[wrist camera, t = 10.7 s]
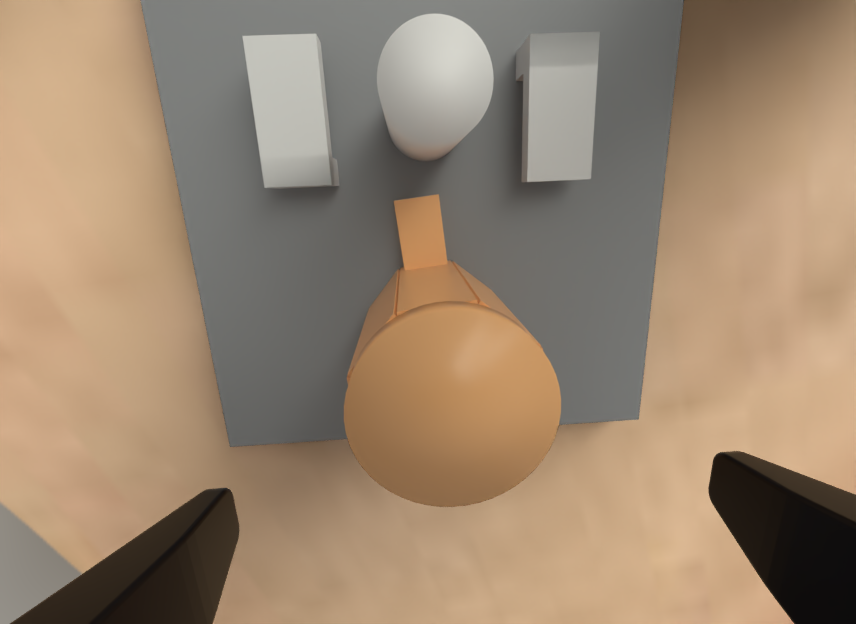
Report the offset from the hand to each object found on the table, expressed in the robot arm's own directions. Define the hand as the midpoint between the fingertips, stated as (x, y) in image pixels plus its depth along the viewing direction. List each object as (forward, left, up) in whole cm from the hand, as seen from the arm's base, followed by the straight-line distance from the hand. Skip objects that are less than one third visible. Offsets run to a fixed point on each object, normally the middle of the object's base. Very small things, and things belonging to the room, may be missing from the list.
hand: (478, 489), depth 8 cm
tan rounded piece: (0, 0, -11) cm, 11 cm away
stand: (0, -4, -13) cm, 14 cm away
